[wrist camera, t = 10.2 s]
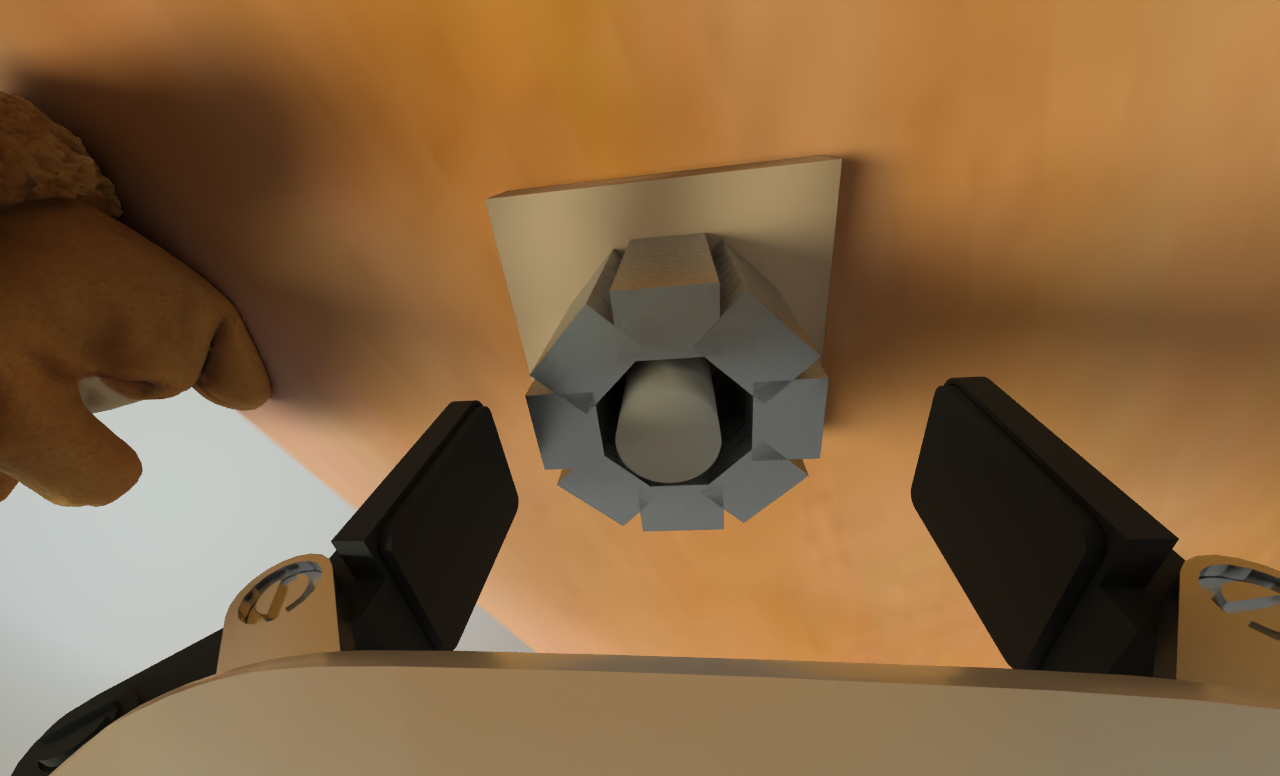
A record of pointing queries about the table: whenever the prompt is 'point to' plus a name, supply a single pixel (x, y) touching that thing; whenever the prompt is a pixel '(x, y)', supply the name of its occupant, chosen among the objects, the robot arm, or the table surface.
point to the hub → (670, 329)
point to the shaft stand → (655, 207)
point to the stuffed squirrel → (94, 320)
